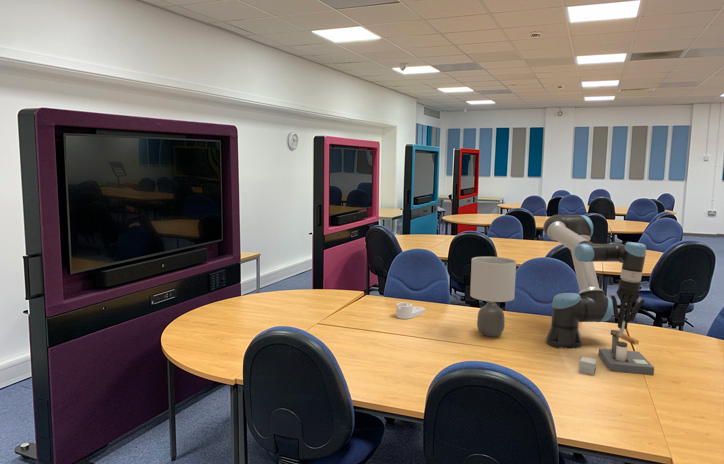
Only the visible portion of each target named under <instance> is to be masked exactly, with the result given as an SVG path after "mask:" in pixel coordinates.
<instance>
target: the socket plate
mask: <svg viewBox="0 0 724 464" xmlns="http://www.w3.org/2000/svg"><path fill="white" fill-rule="evenodd" d="M611 336H612V338H611V349H609V348H600V347H599V348H598V352H597V353H598V356H599V358H600V359H601V361H602V362H603V364H604V365H605V366H606V368H607V370H608V371H609V372H619V373H629V374H639V375H641V374H642V375H650V376H653V375H654V372H655V366H653V365H652V364H651V363H650V361H649V360H648V359H646V357H645V356H644V355H643V354H642V353H641V352H640V351H635V350H627V354H626V362H619V361H615V358H616V346H617V345H616V344H617V342H618V341H619V339H620V338H619V337H617V336H613V335H611Z"/></svg>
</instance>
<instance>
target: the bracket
mask: <svg viewBox="0 0 724 464" xmlns="http://www.w3.org/2000/svg"><path fill="white" fill-rule="evenodd" d="M395 309H396V312H395V314H396V315H395V317H396V318H397V319H401V320H408V319H413V318H415V317H418V316H422V315H425V313H426V308H425V307H422V306H418V305H416V306H415V305H413V304H412V303H409V302H402V301H401V302H397V303H396V307H395Z"/></svg>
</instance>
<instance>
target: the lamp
mask: <svg viewBox="0 0 724 464" xmlns="http://www.w3.org/2000/svg"><path fill="white" fill-rule="evenodd" d="M470 266H471V268H470V269H471V270H470V271H471V272H470V286H469V287H470V289H469V290H470V291H469V292H470V293H469V294H470V295H469V296H470V297H471V298H473V299H475V300H479V301H485V302H486V304H485V305H483V306H481V308H480V309H478V313H477V317H476V318H477V320H476V327H477V331H478V332H479V333H480V334H481V335H483V336H486V337H499V336H501V335H502V334H503V332H504V330H505V326H506V325H505V322H506V321H505V318H506V317H505V312H504V310H503V309H502V308H500V307H499V306H498V304H497V303H504V302H511V301H515V296H516V295H515V291H516V276H517V275H516V274H517V273H516V272H517V261H516V260H515V259H513V258H509V257H500V256H475V257H472V258H471V265H470Z"/></svg>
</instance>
